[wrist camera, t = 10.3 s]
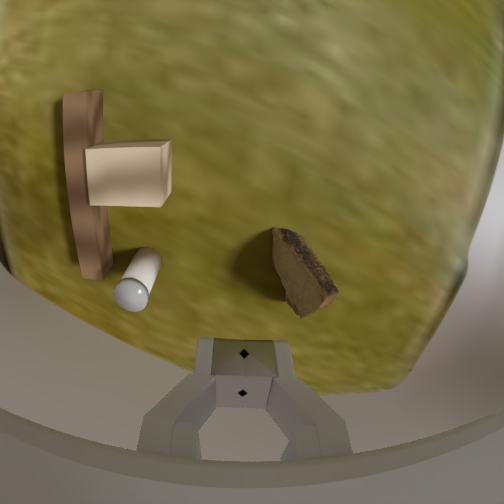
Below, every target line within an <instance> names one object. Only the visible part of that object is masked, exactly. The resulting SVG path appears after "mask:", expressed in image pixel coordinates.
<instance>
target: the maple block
mask: <svg viewBox="0 0 504 504" xmlns="http://www.w3.org/2000/svg"><path fill="white" fill-rule="evenodd" d="M171 143H172V140H121V141H104V142H102V143H99V144H97V145H94V146H92V147H90V148H87V149H85V152H86V168H87V181H88V191H89V201H90V205H91V206H141V207H161V206H162V205H163V203H164V202H165V200H166V199H167V197H168V196H169V195H170V193H171Z"/></svg>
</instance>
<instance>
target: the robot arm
mask: <svg viewBox="0 0 504 504" xmlns="http://www.w3.org/2000/svg"><path fill="white" fill-rule="evenodd" d="M216 407H241V408H266V411H267V412H268V413H269V415H270V416H271V417H272V418H273V420H274V421H275V423H276V424H277V425H278V427H279V428H280V429H281V431H282V432H283V433H284V434H285V436H286V437H287V438H288V440H289V442H288V444H287V446H286V448H285V450H284V452H283V454H282V456H281V458H280V459H281V461H267V462H239V461H215V460H202V459H201V458H202V456H201V449H200V441H199V433H198V431H199V429H200V428H201V427H202V426H203V424H204V423H205V422H206V421H207V419H208V418H209V417H210V415H211V414H212V413H213V411H214V410H215V409H216ZM0 504H504V409H502V410H499V411H497V412H495V413H493V414H490V415H488V416H486V417H483V418H481V419H478V420H476V421H473V422H471V423H468V424H466V425H463V426H460V427H457V428H454V429H452V430H448V431H445V432H442V433H440V434H436V435H433V436H429V437H426V438H423V439H419V440H415V441H412V442H408V443H404V444H400V445H396V446H391V447H387V448H382V449H377V450H372V451H366V452H361V453H355V454H353V452H352V448H351V443H350V439H349V435H348V431H347V427H346V423H345V420H343V419H342V418H341V417H340V416H339V415H338V414H337V413H336V412H335V411H334V410H332V408H331V407H330V406H328V405H327V404H326V403H325V402H324V401H323V400H322V399H321V398H320V397H319V396H318V395H317V394H316V393H315V392H314V391H313V390H312V389H311V388H310V387H309V386H308V385H307V384H306V383H305V382H304V381H303V380H302V379H301V378H300V377H295V374H294V368H293V362H292V356H291V351H290V345H289V342H288V341H287V340H273V341H272V340H237V339H224V338H209V337H199V339H198V343H197V350H196V357H195V365H194V372H193V374H188V375H187V376H186V377H185V378H184V379H183V380H182V381H181V382H180V383H179V384H178V385H177V386H175V387H174V388H173V389H172V390H171V391H170V392H169V393H168V394H167V395H166V396H165V397H164V398H163V399H162V400H161V401H159V402H158V403H157V404H156V405H155V406H154V407H153V408H152V409H151V410H150V411H149V412H147V413H146V414H145V415H144V417H143V422H142V427H141V431H140V436H139V441H138V445H137V450H136V451H134V450H129V449H124V448H119V447H115V446H110V445H106V444H102V443H98V442H94V441H90V440H87V439H83V438H80V437H76V436H73V435H70V434H66V433H63V432H60V431H57V430H54V429H51V428H48V427H46V426H43V425H40V424H38V423H35V422H32V421H30V420H27V419H25V418H22V417H20V416H18V415H15V414H13V413H11V412H8V411H6V410H4V409H2V408H0Z"/></svg>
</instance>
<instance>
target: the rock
mask: <svg viewBox="0 0 504 504" xmlns="http://www.w3.org/2000/svg"><path fill="white" fill-rule="evenodd" d="M272 234H273V248H272V258H273V262H274V265H275V269H276V271H277V273H278V275H279V276H280V279H281V283H282V285H283V286H284V288H285V289H286V293H285V294H286V296H285V299H286V302H287V304H289V306H290V307H291V308H292V309H293V310H294V312H295V313H296V314H297V315H300V318H301V319H302V318H304V317H306V316H308V315H309V314H311V313H314V312H316V311H317V310H320V309H323V308H325V307H327V305H328V304H330V303H331V302H333V301H334V300H335V299H337V298H338V296H339V293H340V291H339V289H338V288H337V286H336V284H335V282H334V280H333V279H332V277H331V275H330V274H329V272H328V271H327V270H326V269H325V267H324V266H323V265H322V264H321V262H320V261H319V260H318V258H317V256H316V254H315V252H314V251H313V249H312V247H311V245H310V244H309V242H308V241H307V239H306V238H305V237H303V236H301V235H299V234H297V233H294V232H292V231H290V230H287V229H278V228H273V229H272Z"/></svg>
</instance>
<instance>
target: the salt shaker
mask: <svg viewBox="0 0 504 504" xmlns="http://www.w3.org/2000/svg"><path fill="white" fill-rule="evenodd" d="M161 264H162V258H161V255H160V254H159V253H158V251H156V250H155V249H153V248H151V247H142V248H140V249H139V250H138V251H137V252H136V254H135V256H134V257H133V259H132V261H131V263H130V264H129V266H128V268H127V270H126V271H125V273H124V275H123V277H122V278H121V280H120V281H119V282H118V284H117V286H116V287H115V289H114V298H115V300H116V302H117V303H118V304H119V305H120V306H121V307H122V308H124V309H126V310H128V311H133V312H136V311H140V310H142V309H144V308H145V306H146V304H147V301H148V299H149V294H150V291H151V289H152V286H153V284H154V281H155V279H156V276H157V274H158V272H159V269H160V267H161Z"/></svg>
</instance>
